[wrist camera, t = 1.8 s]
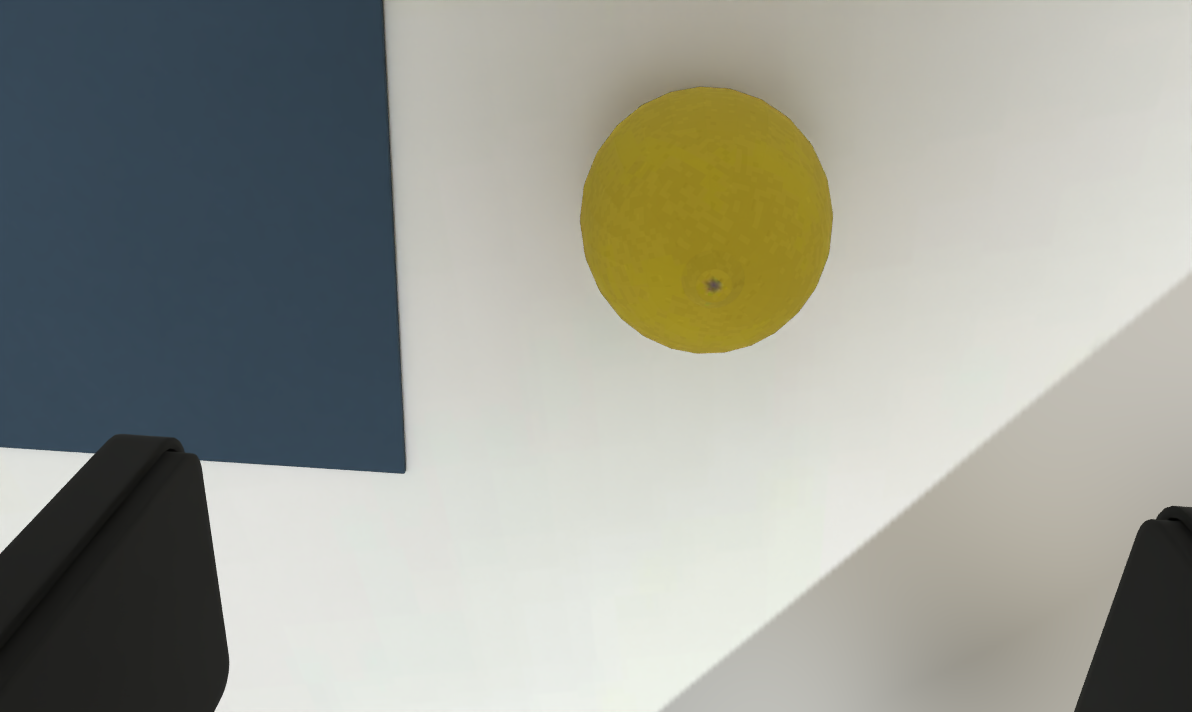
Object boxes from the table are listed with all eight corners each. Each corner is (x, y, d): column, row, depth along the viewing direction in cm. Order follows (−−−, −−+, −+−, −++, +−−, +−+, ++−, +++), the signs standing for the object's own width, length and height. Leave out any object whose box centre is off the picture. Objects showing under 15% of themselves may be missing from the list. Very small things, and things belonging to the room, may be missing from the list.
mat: (-357, -342, 22) (-365, -343, 22) (367, -308, 21) (364, -309, 21) (-107, 436, 31) (-111, 439, 31) (406, 470, 31) (404, 474, 30)
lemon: (836, 89, 25) (910, 186, 18) (764, 288, 27) (804, 443, 20) (621, 31, 24) (608, 105, 17) (568, 238, 27) (537, 377, 20)
